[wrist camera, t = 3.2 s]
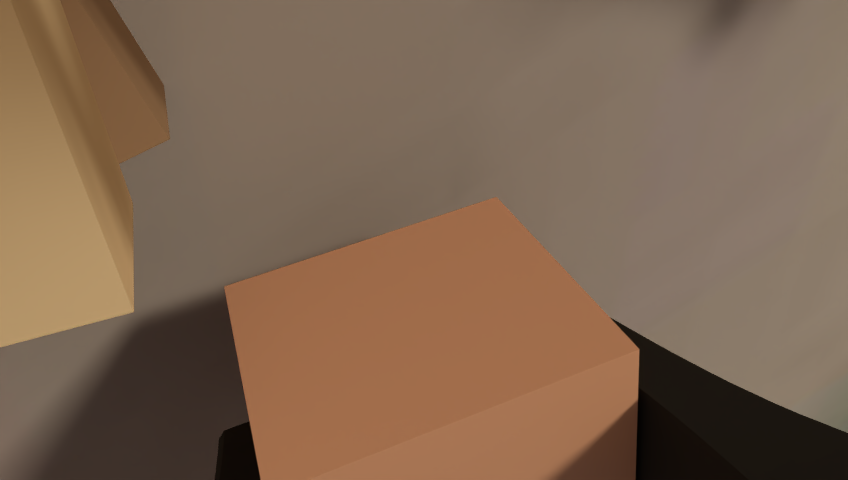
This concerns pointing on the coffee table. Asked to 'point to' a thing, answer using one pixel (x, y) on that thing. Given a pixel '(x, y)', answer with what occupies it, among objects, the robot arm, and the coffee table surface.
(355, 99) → the coffee table surface
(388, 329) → the terracotta block
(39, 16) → the oak slab
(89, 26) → the walnut slab
